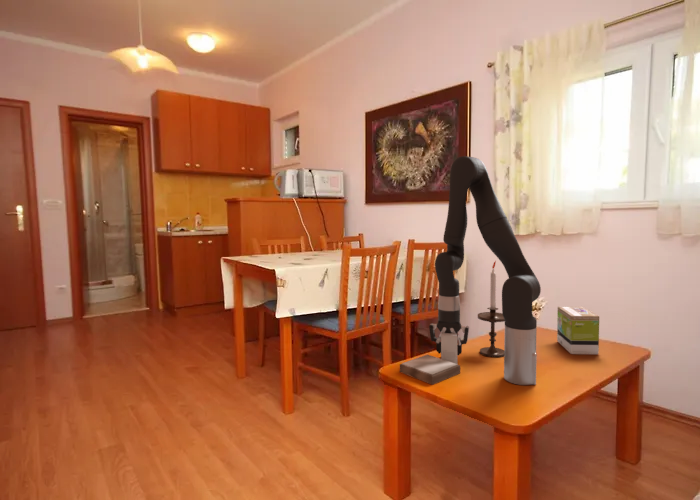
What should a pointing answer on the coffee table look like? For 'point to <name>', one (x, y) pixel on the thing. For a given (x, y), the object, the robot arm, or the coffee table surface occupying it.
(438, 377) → the tray
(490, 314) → the candlestick
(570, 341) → the tea box
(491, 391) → the coffee table surface
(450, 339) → the small box
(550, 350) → the coffee table surface
